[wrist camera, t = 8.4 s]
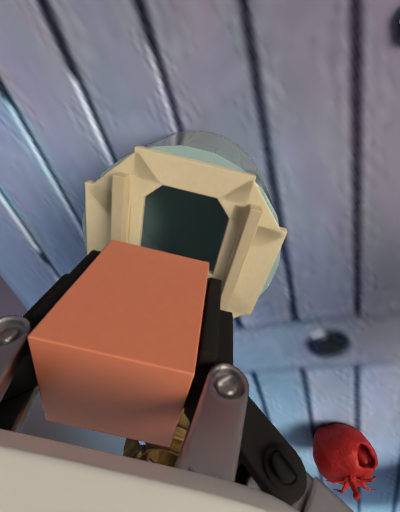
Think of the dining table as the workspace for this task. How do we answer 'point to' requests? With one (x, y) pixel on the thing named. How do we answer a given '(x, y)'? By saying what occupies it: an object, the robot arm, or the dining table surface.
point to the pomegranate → (344, 456)
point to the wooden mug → (159, 447)
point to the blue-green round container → (193, 201)
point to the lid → (201, 182)
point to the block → (123, 344)
